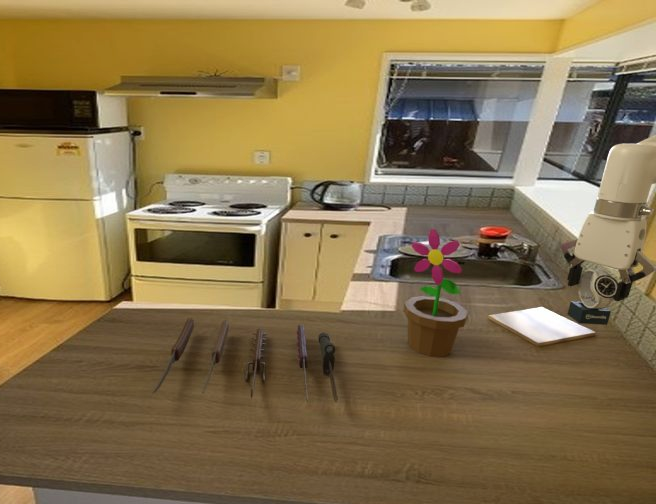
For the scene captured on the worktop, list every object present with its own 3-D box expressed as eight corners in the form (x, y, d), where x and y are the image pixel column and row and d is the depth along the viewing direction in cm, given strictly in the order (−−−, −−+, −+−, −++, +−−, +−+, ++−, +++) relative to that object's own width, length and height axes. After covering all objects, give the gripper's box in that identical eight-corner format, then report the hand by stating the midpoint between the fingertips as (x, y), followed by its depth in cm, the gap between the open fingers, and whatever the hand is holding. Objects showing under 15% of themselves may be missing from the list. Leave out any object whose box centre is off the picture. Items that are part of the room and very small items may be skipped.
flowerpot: (388, 343, 105) (402, 225, 95) (418, 326, 114) (434, 217, 104) (442, 369, 95) (465, 240, 85) (471, 347, 104) (494, 229, 94)
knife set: (148, 417, 76) (146, 379, 74) (188, 334, 107) (188, 306, 105) (344, 429, 75) (348, 391, 73) (326, 342, 107) (329, 314, 105)
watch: (585, 327, 87) (598, 277, 83) (562, 310, 94) (574, 264, 91) (614, 329, 86) (629, 278, 83) (589, 312, 94) (602, 265, 90)
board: (541, 310, 126) (541, 306, 125) (595, 335, 111) (596, 332, 111) (487, 318, 120) (488, 315, 119) (537, 346, 105) (538, 343, 105)
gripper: (683, 216, 77) (654, 304, 83) (580, 200, 92) (561, 275, 97) (665, 221, 74) (636, 312, 79) (560, 202, 88) (542, 281, 94)
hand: (595, 291), depth 88 cm, fingers closed on watch, 8 cm apart
